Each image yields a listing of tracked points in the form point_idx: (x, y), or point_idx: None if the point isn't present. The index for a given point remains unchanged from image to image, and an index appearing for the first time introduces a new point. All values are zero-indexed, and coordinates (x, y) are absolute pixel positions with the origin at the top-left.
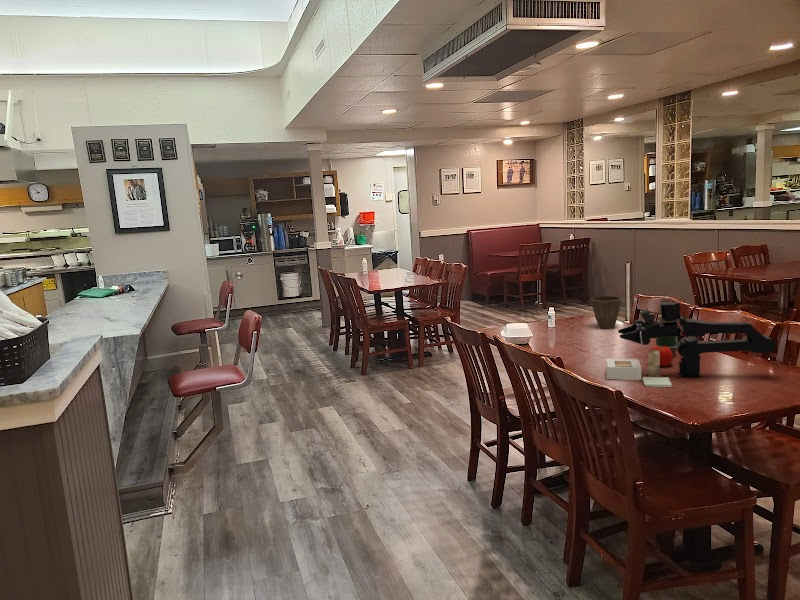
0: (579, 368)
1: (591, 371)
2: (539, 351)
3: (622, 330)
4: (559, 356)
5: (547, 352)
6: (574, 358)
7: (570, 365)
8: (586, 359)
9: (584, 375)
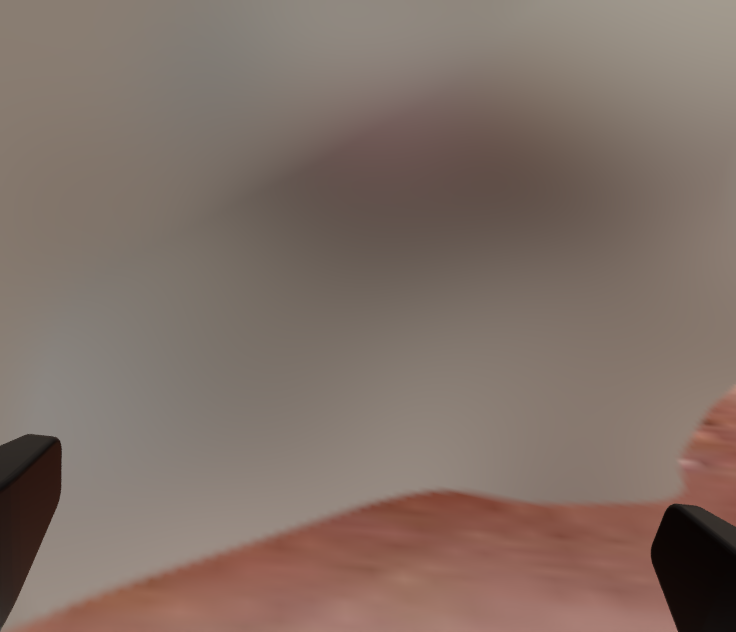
0: (423, 549)
1: (343, 628)
2: (725, 403)
3: (723, 591)
4: (686, 470)
5: (733, 429)
6: None
7: (490, 504)
8: None
9: (214, 564)
